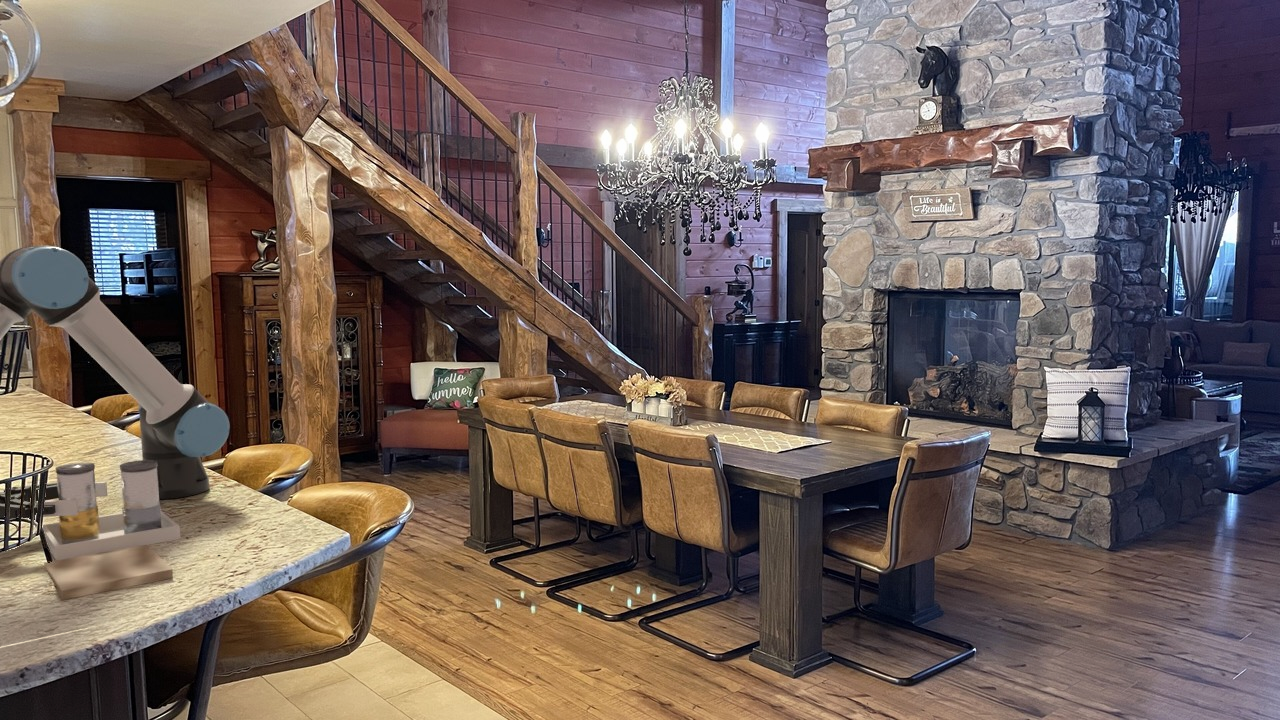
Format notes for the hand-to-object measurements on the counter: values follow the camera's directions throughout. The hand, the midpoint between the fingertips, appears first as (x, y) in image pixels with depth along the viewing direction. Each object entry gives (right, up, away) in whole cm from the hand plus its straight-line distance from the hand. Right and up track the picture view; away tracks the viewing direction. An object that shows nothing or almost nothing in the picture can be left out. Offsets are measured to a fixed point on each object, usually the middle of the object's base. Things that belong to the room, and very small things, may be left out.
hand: (92, 497), depth 179 cm
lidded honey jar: (-3, -8, +1) cm, 8 cm away
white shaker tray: (+3, -9, +1) cm, 9 cm away
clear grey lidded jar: (+8, -8, +2) cm, 12 cm away
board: (+12, -11, -16) cm, 23 cm away
